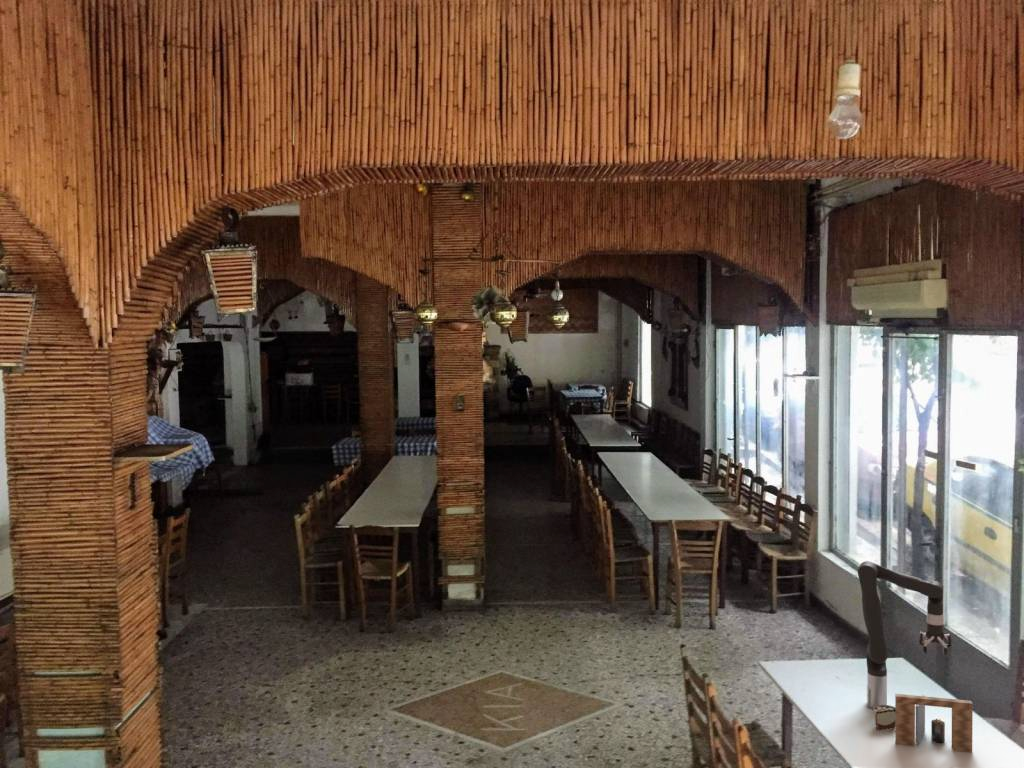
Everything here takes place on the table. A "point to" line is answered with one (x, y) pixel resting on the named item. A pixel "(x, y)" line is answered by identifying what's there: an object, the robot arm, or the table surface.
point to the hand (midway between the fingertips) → (934, 653)
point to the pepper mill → (938, 731)
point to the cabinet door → (920, 722)
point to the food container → (884, 717)
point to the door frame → (960, 708)
